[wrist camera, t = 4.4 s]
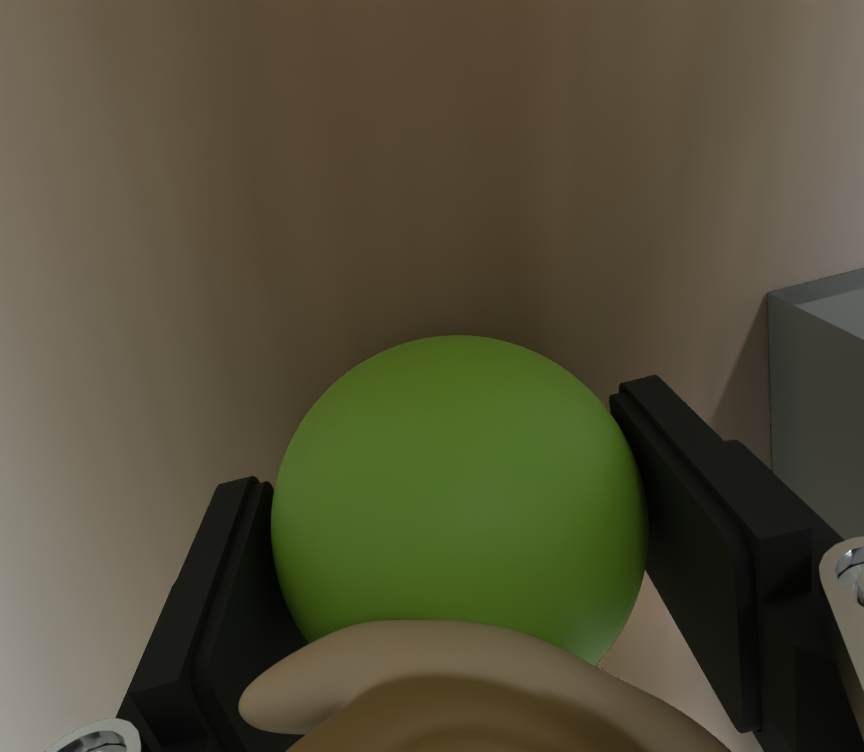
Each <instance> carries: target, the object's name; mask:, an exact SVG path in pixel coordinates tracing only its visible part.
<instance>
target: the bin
mask: <svg viewBox="0 0 864 752" xmlns="http://www.w3.org/2000/svg"><path fill="white" fill-rule="evenodd" d="M768 323H769V361H770V400H771V439H772V472H773V473H774V474H775V475H776V476H777V477H778V478H779V479H780V480H781V481H783V482H784V483H785V484H786V485H787V486H788V487H789V488H790V489H791V490H792V491H793V492H794V493H795V494H796V495H797V496H799V497H800V498H801V499H802V500H803V501H804V502H805V503H806V504H807V505H808V506H809V507H810V508H811V509H812V510H813V511H814V512H816V513H817V514H818V515H819V516H820V517H821V518H822V519H823V520H824V521H825V522H826V523H827V524H828V525H829V526H830V527H832V528H833V529H834V530H835V531H836V532H837V533H838V534H839V535H840V536H841V537H842V538H843V539H844V540H845V541H846V540H848V539H851V538H855V537H864V268H862V269H858V270H854V271H850V272H846V273H842V274H838V275H834V276H830V277H827V278H823V279H819V280H815V281H811V282H807V283H803V284H799V285H795V286H791V287H787V288H783V289H779V290H776V291H772V292H768Z"/></svg>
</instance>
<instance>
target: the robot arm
mask: <svg viewBox="0 0 864 752" xmlns="http://www.w3.org/2000/svg"><path fill="white" fill-rule="evenodd" d="M609 405H610V412H611V415H612V416H613V418H614V419H615V421H616V422H617V424H618V425H619V427H620V429H621V430H622V432H623V434H624V436H625V438H626V439H627V441H628V444H629V446H630V448H631V450H632V452H633V455H634V457H635V460H636V462H637V465H638V468H639V471H640V474H641V478H642V482H643V486H644V490H645V496H646V502H647V510H648V525H649V538H648V552H647V559H646V566H645V570H646V572H647V573H648V575H649V577H650V579H651V580H652V582H653V584H654V586H655V588H656V589H657V591H658V593H659V595H660V596H661V598H662V600H663V602H664V603H665V605H666V607H667V609H668V610H669V612H670V614H671V616H672V618H673V619H674V621H675V623H676V625H677V626H678V628H679V630H680V632H681V633H682V635H683V637H684V639H685V640H686V642H687V644H688V646H689V648H690V649H691V651H692V653H693V655H694V656H695V658H696V660H697V662H698V663H699V665H700V667H701V669H702V670H703V672H704V674H705V676H706V678H707V679H708V681H709V683H710V685H711V686H712V688H713V690H714V692H715V693H716V695H717V697H718V699H719V700H720V702H721V704H722V706H723V708H724V709H725V711H726V713H727V715H728V716H729V718H730V720H731V722H732V723H733V725H734V726H735V728H736V729H737V730H738V731H739V732H740V733H746V732H750V731H752V732H753V734H754V735H755V737H756V739H757V740H758V742H759V744H760V745H761V747H762V749H763V751H764V752H864V537H855V538H851V539H848V540H846V541H845V540H844V539H843V538H842V537H841V536H840V535H839V534H838V533H837V532H836V531H835V530H834V529H833V528H832V527H830V526H829V525H828V524H827V523H826V522H825V521H824V520H823V519H822V518H821V517H820V516H819V515H818V514H817V513H816V512H814V511H813V510H812V509H811V508H810V507H809V506H808V505H807V504H806V503H805V502H804V501H803V500H802V499H801V498H800V497H799V496H797V495H796V494H795V493H794V492H793V491H792V490H791V489H790V488H789V487H788V486H787V485H786V484H785V483H784V482H783V481H781V480H780V479H779V478H778V477H777V476H776V475H775V474H774V473H773V472H772V471H771V470H770V469H769V468H768V467H767V466H766V465H764V464H763V463H762V462H761V461H760V460H759V459H758V458H757V457H756V456H755V455H754V454H753V453H752V452H751V451H750V450H749V449H747V448H746V447H745V446H744V445H743V444H742V443H740V442H739V441H737V440H727V441H724V440H722V439H721V438H720V437H719V436H718V435H717V434H716V433H715V432H714V431H713V430H712V429H711V428H710V427H709V426H708V425H707V424H706V423H705V422H704V421H703V420H702V419H701V418H700V417H699V416H698V415H697V414H696V413H695V412H694V411H693V410H692V409H691V408H690V407H689V406H688V405H687V404H686V403H685V402H684V401H683V400H682V399H681V398H680V397H679V396H678V395H677V394H676V393H675V392H674V391H673V390H672V389H671V388H670V387H669V386H668V385H666V384H665V383H664V382H663V381H662V380H661V379H660V378H659V377H658V376H657V375H652V376H648V377H644V378H640V379H636V380H632V381H628V382H624V383H620V386H619V393H617V394H613V395H610V397H609ZM273 495H274V489H273V487H272V485H271V484H270V483H269V482H268V481H266V482H262V483H260V482H259V480H258V479H257V478H256V477H255V476H250V477H246V478H242V479H238V480H234V481H230V482H226V483H222V484H219V485H218V486H217V488H216V490H215V492H214V495H213V497H212V499H211V502H210V504H209V506H208V509H207V511H206V513H205V516H204V518H203V520H202V523H201V525H200V527H199V529H198V532H197V534H196V536H195V539H194V541H193V543H192V546H191V548H190V550H189V553H188V555H187V557H186V560H185V562H184V564H183V567H182V569H181V571H180V574H179V576H178V578H177V580H176V582H175V583H174V585H173V586H172V589H171V591H170V593H169V596H168V598H167V600H166V603H165V605H164V607H163V610H162V612H161V614H160V616H159V619H158V621H157V623H156V626H155V628H154V630H153V633H152V635H151V637H150V640H149V642H148V644H147V646H146V649H145V651H144V653H143V656H142V658H141V660H140V663H139V665H138V667H137V670H136V672H135V674H134V676H133V679H132V681H131V683H130V686H129V688H128V690H127V693H126V695H125V697H124V700H123V702H122V704H121V707H120V709H119V711H118V713H117V716H116V718H113V719H105V720H98V721H96V722H93V723H90V724H88V725H85V726H82V727H80V728H78V729H77V730H75V731H73V732H72V733H70V734H68V735H67V736H65V737H63V738H62V739H60V740H59V741H58V742H56V743H55V744H54V745H53V746H51V747H50V748H49V749H48V750H47V751H45V752H286V751H287V750H288V749H289V748H290V747H291V746H292V745H293V744H295V743H296V742H297V741H298V740H300V739H301V738H302V737H303V736H305V735H306V734H284V733H274V732H269V731H264V730H261V729H258V728H255V727H253V726H252V725H250V724H248V723H247V722H246V721H245V720H244V719H243V718H242V717H241V715H240V713H239V701H240V698H241V696H242V694H243V692H244V691H245V689H246V688H247V687H248V686H249V685H250V684H251V683H252V682H253V681H254V680H255V679H256V678H257V677H258V676H260V675H261V674H262V673H263V672H265V671H266V670H267V669H269V668H270V667H272V666H273V665H275V664H276V663H278V662H279V661H281V660H282V659H284V658H286V657H287V656H289V655H291V654H292V653H294V652H296V651H297V650H299V649H301V648H303V647H305V646H306V645H308V644H309V643H308V642H307V641H306V639H305V638H304V636H303V635H302V633H301V631H300V630H299V628H298V626H297V625H296V623H295V621H294V619H293V617H292V615H291V613H290V611H289V609H288V607H287V604H286V602H285V599H284V597H283V594H282V591H281V588H280V585H279V582H278V578H277V574H276V570H275V565H274V560H273V552H272V543H271V511H272V502H273Z"/></svg>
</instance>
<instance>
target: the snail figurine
mask: <svg viewBox="0 0 864 752" xmlns="http://www.w3.org/2000/svg"><path fill="white" fill-rule="evenodd" d="M648 538H649V525H648V510H647V502H646V496H645V490H644V486H643V482H642V478H641V474H640V471H639V468H638V465H637V462H636V460H635V457H634V455H633V452H632V450H631V448H630V446H629V444H628V441H627V439H626V438H625V436H624V434H623V432H622V430H621V429H620V427H619V425H618V424H617V422H616V421H615V419H614V418H613V416H612V415H611V414H610V412H609V411H608V410H607V408H606V407H605V406H604V405H603V403H602V402H601V401H600V400H599V399H598V398H597V397H596V396H595V394H594V393H593V392H592V391H591V390H590V389H589V388H588V387H587V386H585V385H584V384H583V383H582V382H581V381H580V380H579V379H577V378H576V377H575V376H574V375H572V374H571V373H570V372H568V371H567V370H566V369H564V368H563V367H561V366H560V365H558V364H557V363H555V362H553V361H552V360H550V359H548V358H546V357H544V356H542V355H540V354H538V353H536V352H534V351H532V350H529V349H527V348H524V347H522V346H519V345H516V344H513V343H510V342H506V341H502V340H498V339H493V338H487V337H480V336H469V335H446V336H436V337H429V338H423V339H418V340H414V341H410V342H406V343H403V344H400V345H397V346H394V347H392V348H389V349H387V350H384V351H382V352H380V353H378V354H376V355H374V356H372V357H370V358H368V359H367V360H365V361H363V362H362V363H360V364H358V365H357V366H355V367H354V368H352V369H351V370H349V371H348V372H347V373H346V374H344V375H343V376H342V377H341V378H339V379H338V380H337V381H336V382H335V383H334V384H333V385H331V386H330V387H329V388H328V389H327V390H326V391H325V392H324V393H323V394H322V396H321V397H320V398H319V399H318V400H317V401H316V402H315V404H314V405H313V406H312V407H311V409H310V410H309V411H308V413H307V414H306V416H305V417H304V418H303V420H302V422H301V423H300V425H299V426H298V428H297V430H296V432H295V434H294V435H293V437H292V439H291V441H290V443H289V445H288V448H287V450H286V453H285V455H284V457H283V460H282V463H281V466H280V469H279V473H278V476H277V480H276V485H275V489H274V495H273V502H272V511H271V543H272V552H273V560H274V565H275V570H276V574H277V578H278V582H279V585H280V588H281V591H282V594H283V597H284V599H285V602H286V604H287V607H288V609H289V611H290V613H291V615H292V617H293V619H294V621H295V623H296V625H297V626H298V628H299V630H300V631H301V633H302V635H303V636H304V638H305V639H306V641H307V642H308V643H309V644H308V645H306V646H305V647H303V648H301V649H299V650H297V651H296V652H294V653H292V654H291V655H289V656H287V657H286V658H284V659H282V660H281V661H279V662H278V663H276V664H275V665H273V666H272V667H270V668H269V669H267V670H266V671H265V672H263V673H262V674H261V675H260V676H258V677H257V678H256V679H255V680H254V681H253V682H252V683H251V684H250V685H249V686H248V687H247V688H246V689H245V691H244V692H243V694H242V696H241V698H240V701H239V713H240V715H241V717H242V718H243V719H244V720H245V721H246V722H247V723H248V724H250V725H252V726H253V727H255V728H258V729H261V730H264V731H269V732H274V733H284V734H306V735H305V736H303V737H302V738H301V739H300V740H298V741H297V742H296V743H295V744H293V745H292V746H291V747H290V748H289V749H288V750H287V751H286V752H731V751H730V750H729V749H728V748H727V747H726V746H725V745H724V744H723V743H722V742H721V741H719V740H718V739H717V738H716V737H715V736H713V735H712V734H711V733H710V732H708V731H707V730H706V729H705V728H703V727H702V726H701V725H699V724H698V723H697V722H695V721H694V720H693V719H691V718H690V717H688V716H687V715H685V714H684V713H682V712H681V711H679V710H678V709H676V708H674V707H673V706H671V705H669V704H668V703H666V702H664V701H662V700H660V699H659V698H657V697H655V696H653V695H651V694H649V693H647V692H645V691H643V690H641V689H638V688H636V687H634V686H632V685H630V684H628V683H626V682H624V681H622V680H620V679H618V678H616V677H614V676H612V675H610V674H608V673H606V672H604V671H602V670H601V669H599V668H597V667H595V665H596V664H597V663H598V662H599V660H600V659H601V658H602V657H603V656H604V655H605V654H606V652H607V651H608V650H609V648H610V647H611V646H612V644H613V643H614V641H615V640H616V638H617V637H618V635H619V634H620V632H621V630H622V629H623V627H624V625H625V623H626V621H627V620H628V618H629V615H630V613H631V611H632V609H633V607H634V604H635V602H636V599H637V596H638V593H639V590H640V587H641V583H642V580H643V575H644V571H645V566H646V559H647V552H648Z"/></svg>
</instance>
